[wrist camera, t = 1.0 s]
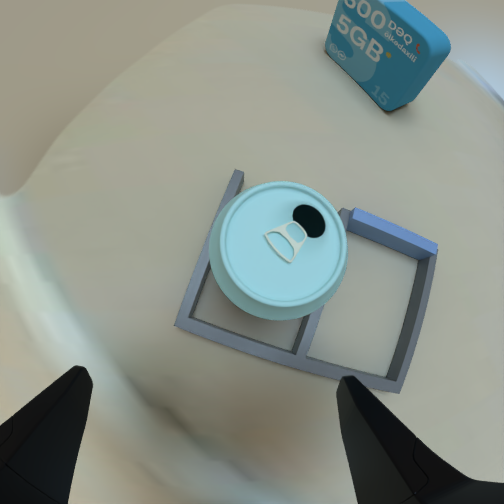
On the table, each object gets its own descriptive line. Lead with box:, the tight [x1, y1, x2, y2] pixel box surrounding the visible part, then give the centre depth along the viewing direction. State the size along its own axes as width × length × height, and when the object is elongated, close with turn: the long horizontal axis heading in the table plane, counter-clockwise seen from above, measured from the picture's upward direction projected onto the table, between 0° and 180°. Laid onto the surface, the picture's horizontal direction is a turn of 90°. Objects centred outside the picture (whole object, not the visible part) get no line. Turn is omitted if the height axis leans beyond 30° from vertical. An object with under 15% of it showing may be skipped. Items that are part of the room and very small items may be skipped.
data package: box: [325, 0, 451, 111], centre depth 24 cm, size 12×4×12 cm, turn 33°
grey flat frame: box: [174, 169, 438, 394], centre depth 23 cm, size 14×20×3 cm
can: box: [209, 181, 348, 320], centre depth 19 cm, size 7×7×12 cm
